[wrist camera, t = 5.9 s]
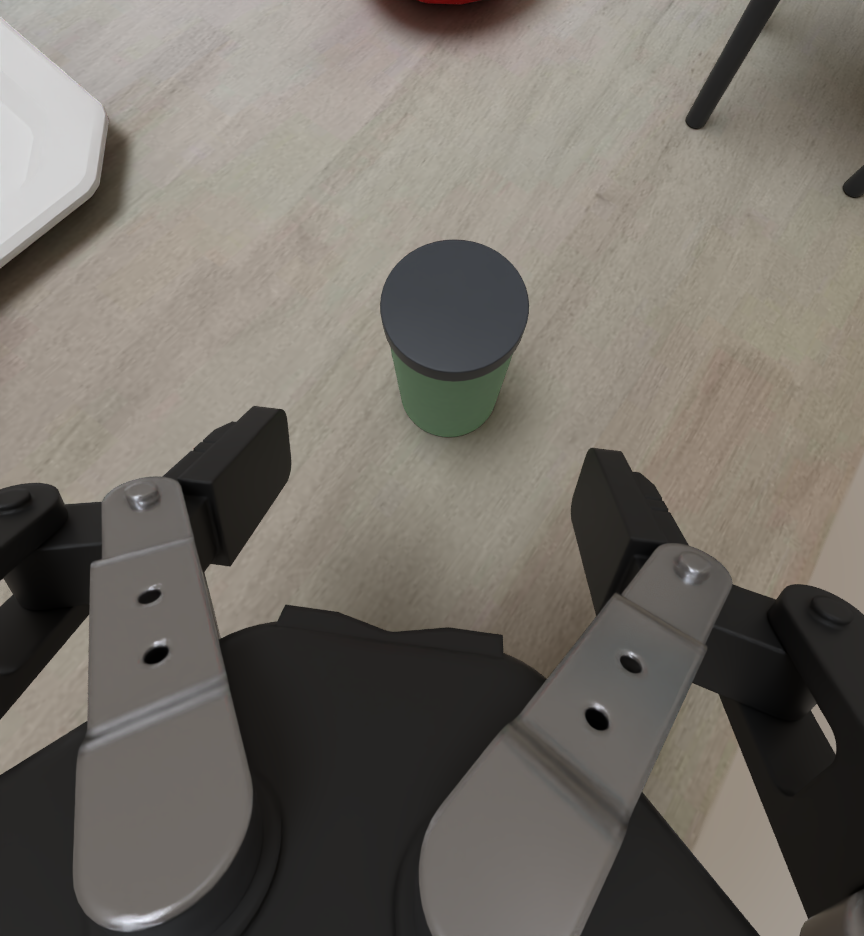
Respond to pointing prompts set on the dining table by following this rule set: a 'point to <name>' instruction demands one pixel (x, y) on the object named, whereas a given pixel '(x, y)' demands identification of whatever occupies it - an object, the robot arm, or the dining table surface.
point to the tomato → (448, 1)
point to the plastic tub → (452, 332)
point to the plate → (43, 143)
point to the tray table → (729, 64)
